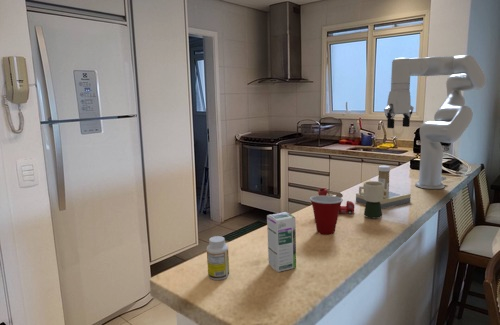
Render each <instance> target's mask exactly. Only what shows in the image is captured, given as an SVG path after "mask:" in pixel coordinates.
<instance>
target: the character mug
mask: <svg viewBox="0 0 500 325" xmlns="http://www.w3.org/2000/svg"><path fill="white" fill-rule="evenodd" d="M362 191H363V192H364V193H362ZM384 192H386V196H384ZM389 192H390V189H389V190H386V189H384V183H382V182H378V181H374V180H372V181H371V180H370V181H364V182H363V186H361V185H360V186H359V187H358V193H359V194H360V195H363V198H364V200H366V201H367V202H366V205H365V204H364V205H365V206H364V211H363V212H364V213H363V215H364V216H365V217H366V218H368V219H369V218H370V219H378V218H381V217H382V209H381V204H380V202H381V201H382V200H383V198H389Z"/></svg>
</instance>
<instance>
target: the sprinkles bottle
mask: <svg viewBox="0 0 500 325" xmlns="http://www.w3.org/2000/svg"><path fill="white" fill-rule="evenodd" d="M377 168H378V178H377V180H378V181H377V182H382V183H384V189H386V190H389V191H390V171H391V165H384V164H382V165H378V167H377ZM384 196H386V192H384Z"/></svg>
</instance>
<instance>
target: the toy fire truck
mask: <svg viewBox="0 0 500 325" xmlns="http://www.w3.org/2000/svg"><path fill="white" fill-rule="evenodd" d="M327 194H330V195H333V196H335V197H340V198H342V199H343V197H344V196H343V195H344V194H343V193H341V192H340V191H339V192H338V191H336V190H335V191H334V190H332V189H331V190H330V189H327V188H326V187H325V188H320V189H318V196H328V195H327ZM340 214H348V215H351V214H355V203H354V201H353V202H352V201H351V200H346V204H345V205H343V206H342V205H340V209H339V213H338V215H340Z"/></svg>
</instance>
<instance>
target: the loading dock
mask: <svg viewBox="0 0 500 325" xmlns="http://www.w3.org/2000/svg"><path fill="white" fill-rule="evenodd" d="M362 193H364V191H363V192H362ZM411 194H412V193H404V194H400V193H396V192H392V191H389V198H383V200H382V201H381V202H380V204H381V210H383V209H387V208H391V207H395V206H399V205H403V204H407V203H411V196H412V195H411ZM355 202H356V203H360V204H362V205H366V202H367V201H366V200H364V198H363V195H360V194H359V192H358V193H355Z"/></svg>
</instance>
